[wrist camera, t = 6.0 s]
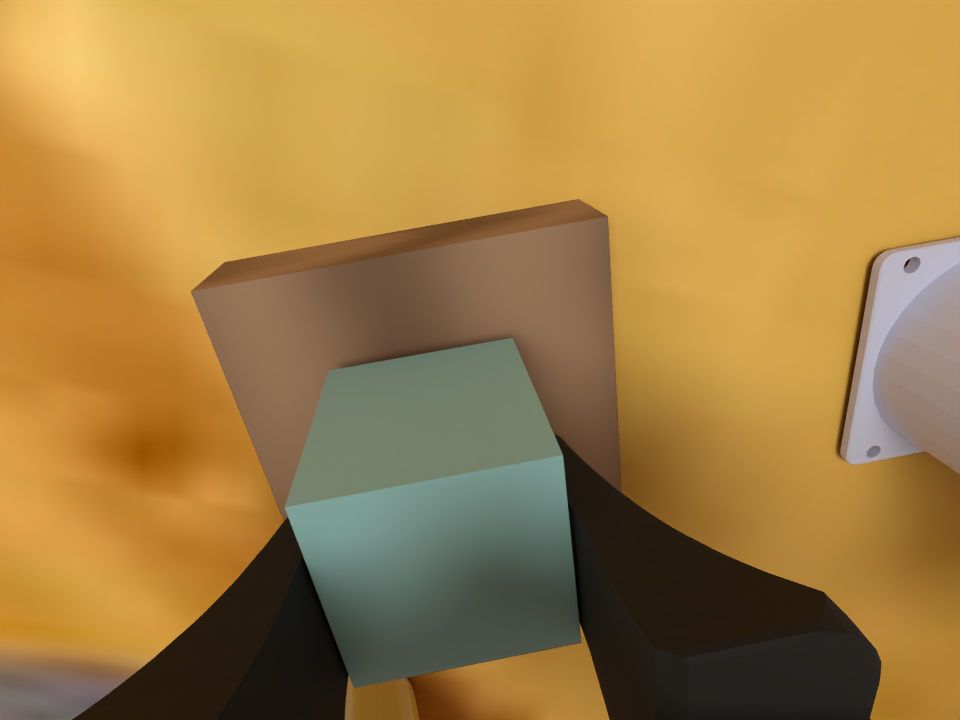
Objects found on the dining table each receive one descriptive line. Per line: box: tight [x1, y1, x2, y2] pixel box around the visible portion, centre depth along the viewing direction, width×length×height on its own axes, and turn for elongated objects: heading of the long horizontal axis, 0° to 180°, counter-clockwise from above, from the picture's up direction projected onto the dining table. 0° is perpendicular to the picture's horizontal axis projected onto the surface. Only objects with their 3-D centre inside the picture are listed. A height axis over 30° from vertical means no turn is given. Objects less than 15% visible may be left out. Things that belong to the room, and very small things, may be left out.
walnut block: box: [191, 199, 621, 521], centre depth 16 cm, size 10×10×3 cm
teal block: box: [285, 338, 581, 688], centre depth 12 cm, size 4×4×5 cm
